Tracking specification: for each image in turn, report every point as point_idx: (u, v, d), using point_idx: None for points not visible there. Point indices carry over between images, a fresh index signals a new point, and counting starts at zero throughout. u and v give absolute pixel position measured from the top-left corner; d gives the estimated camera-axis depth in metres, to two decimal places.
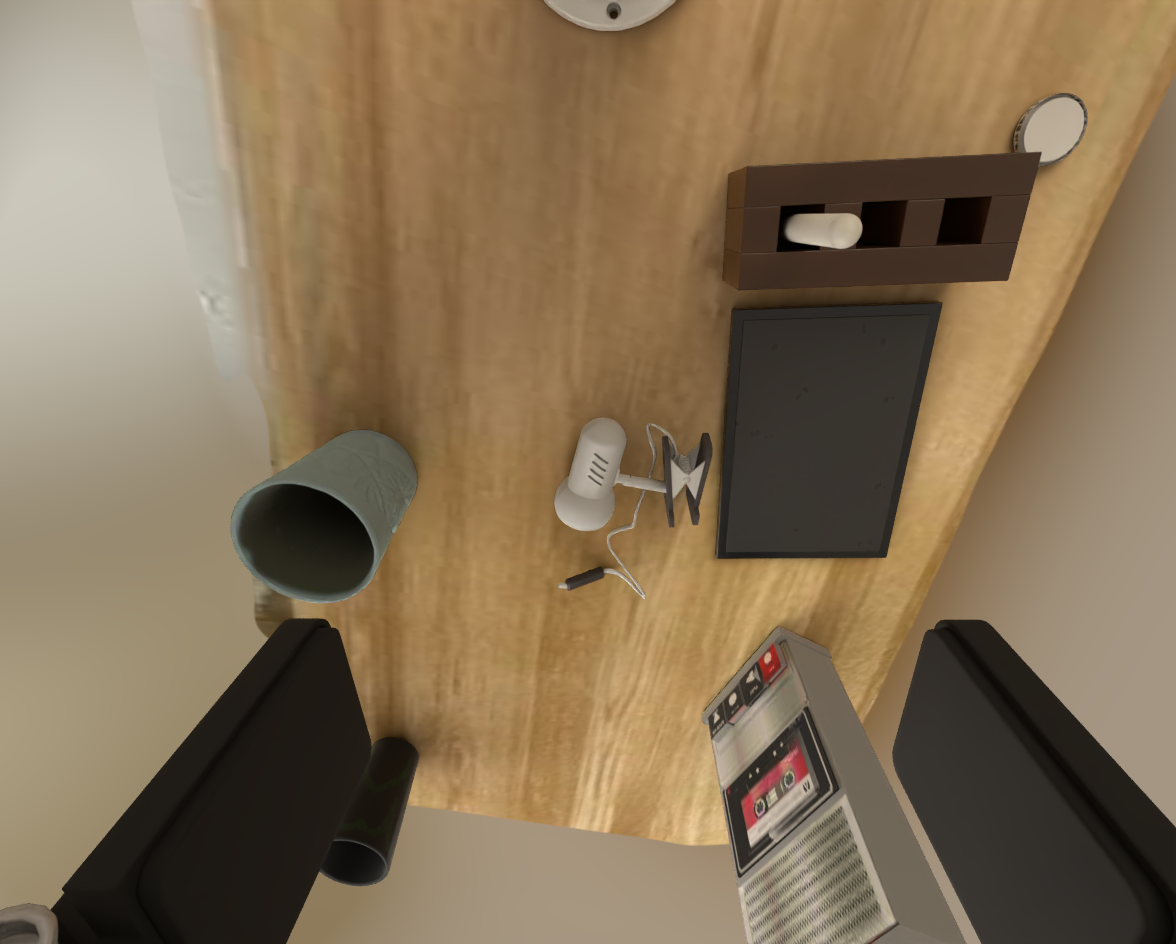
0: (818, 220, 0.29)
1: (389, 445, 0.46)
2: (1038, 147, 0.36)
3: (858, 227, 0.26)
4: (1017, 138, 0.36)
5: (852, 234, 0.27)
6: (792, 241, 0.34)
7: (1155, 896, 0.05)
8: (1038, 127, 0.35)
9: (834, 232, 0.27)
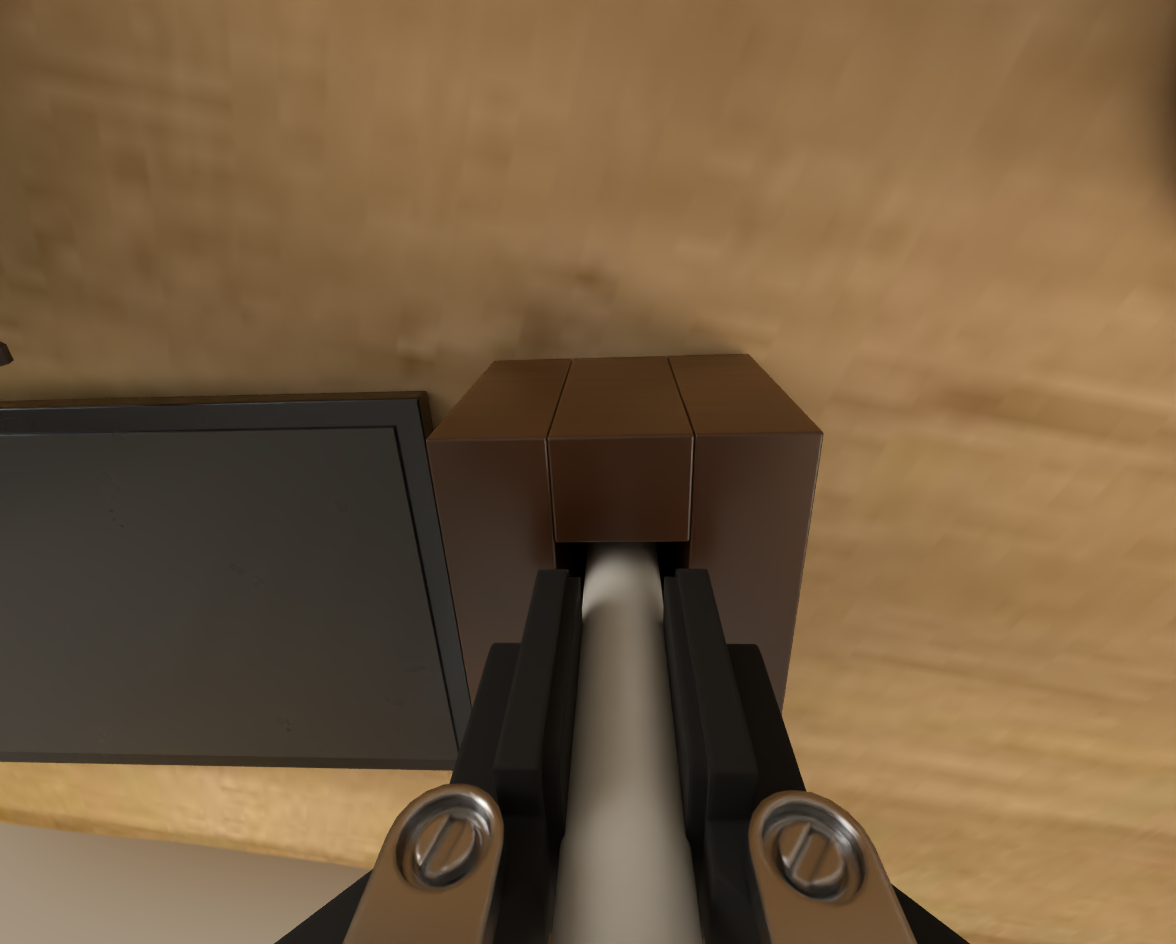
0: (668, 834, 0.06)
1: None
2: None
3: None
4: None
5: None
6: (586, 577, 0.11)
7: (712, 760, 0.06)
8: None
9: None
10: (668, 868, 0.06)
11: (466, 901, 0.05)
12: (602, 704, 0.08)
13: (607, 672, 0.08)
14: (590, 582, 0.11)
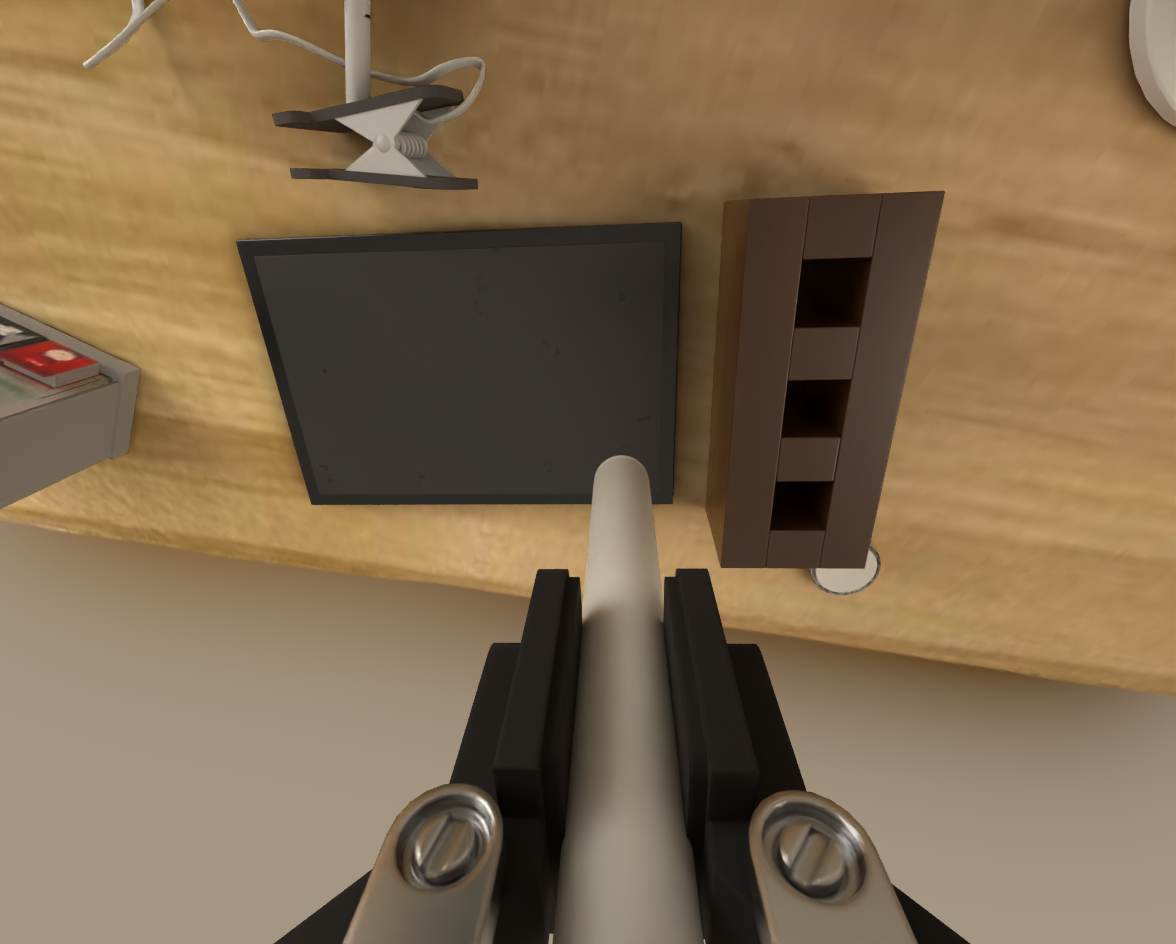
0: (669, 823, 0.06)
1: None
2: None
3: None
4: None
5: None
6: (587, 573, 0.11)
7: (712, 760, 0.06)
8: None
9: None
10: (669, 855, 0.06)
11: (466, 901, 0.05)
12: (603, 697, 0.08)
13: (608, 666, 0.09)
14: (591, 578, 0.11)
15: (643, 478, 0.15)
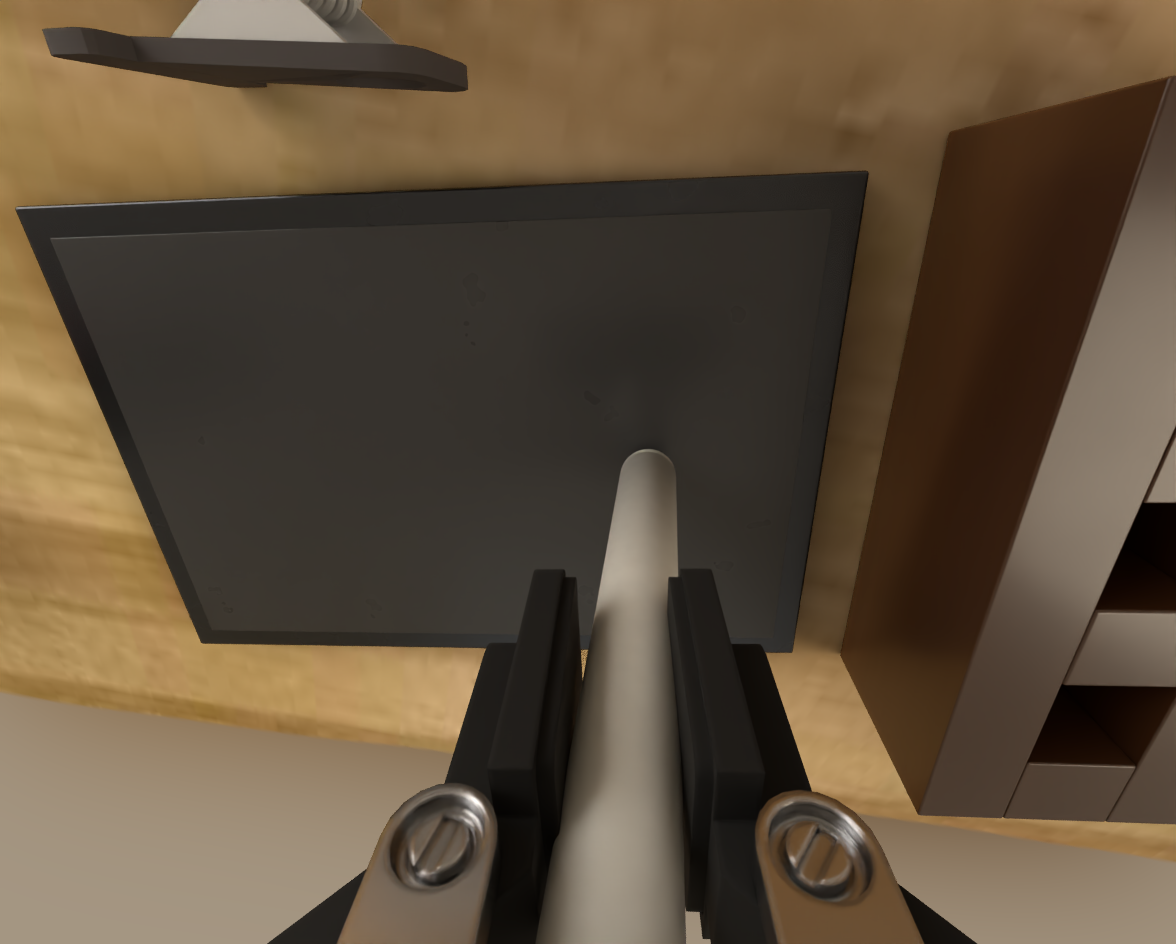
0: (659, 824, 0.06)
1: None
2: None
3: None
4: None
5: None
6: (604, 567, 0.11)
7: (719, 759, 0.06)
8: None
9: None
10: (656, 856, 0.06)
11: (461, 900, 0.05)
12: (607, 693, 0.08)
13: (614, 662, 0.09)
14: (607, 573, 0.11)
15: (669, 473, 0.15)
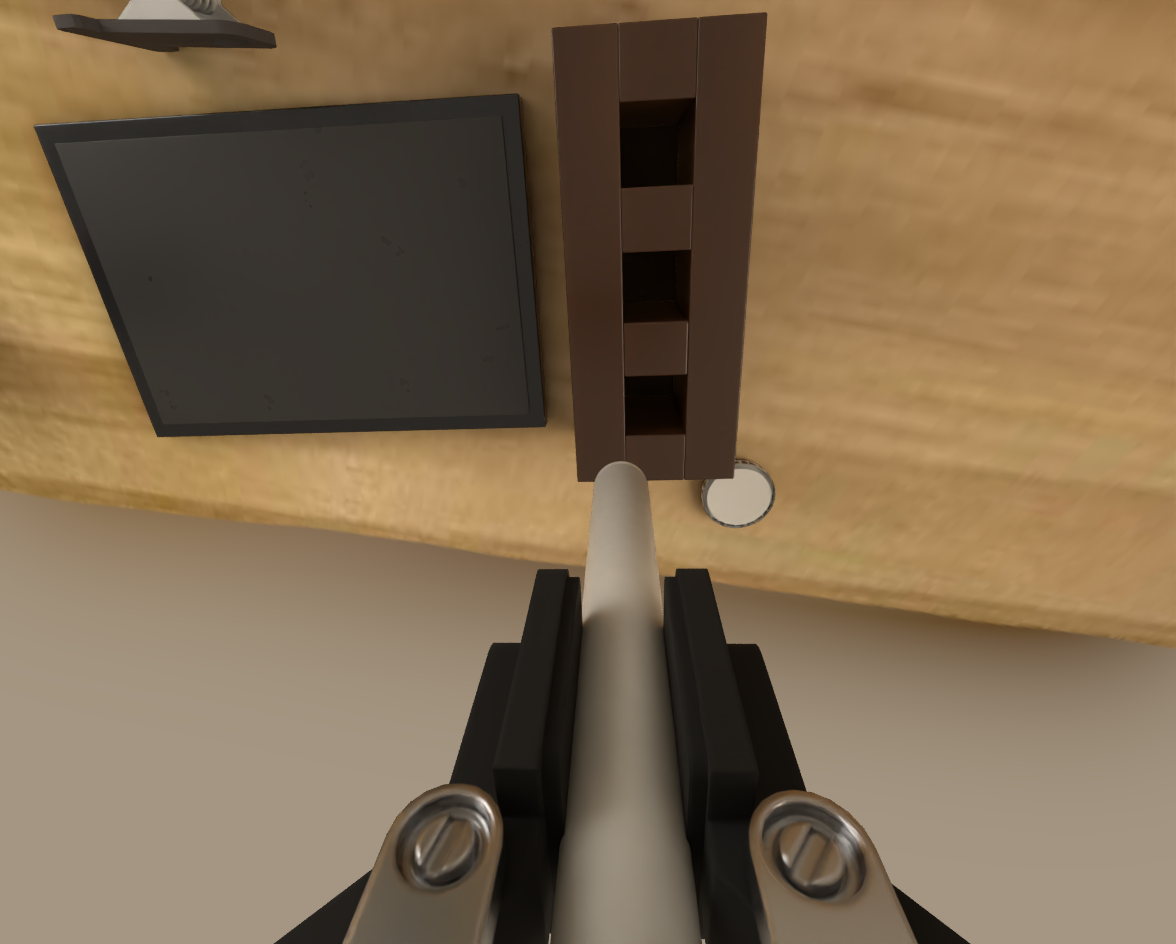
0: (666, 811, 0.07)
1: None
2: (722, 487, 0.31)
3: None
4: None
5: None
6: (586, 575, 0.12)
7: (712, 759, 0.06)
8: (743, 481, 0.30)
9: None
10: (665, 842, 0.06)
11: (466, 901, 0.05)
12: (602, 691, 0.08)
13: (607, 662, 0.09)
14: (590, 579, 0.11)
15: (642, 483, 0.15)
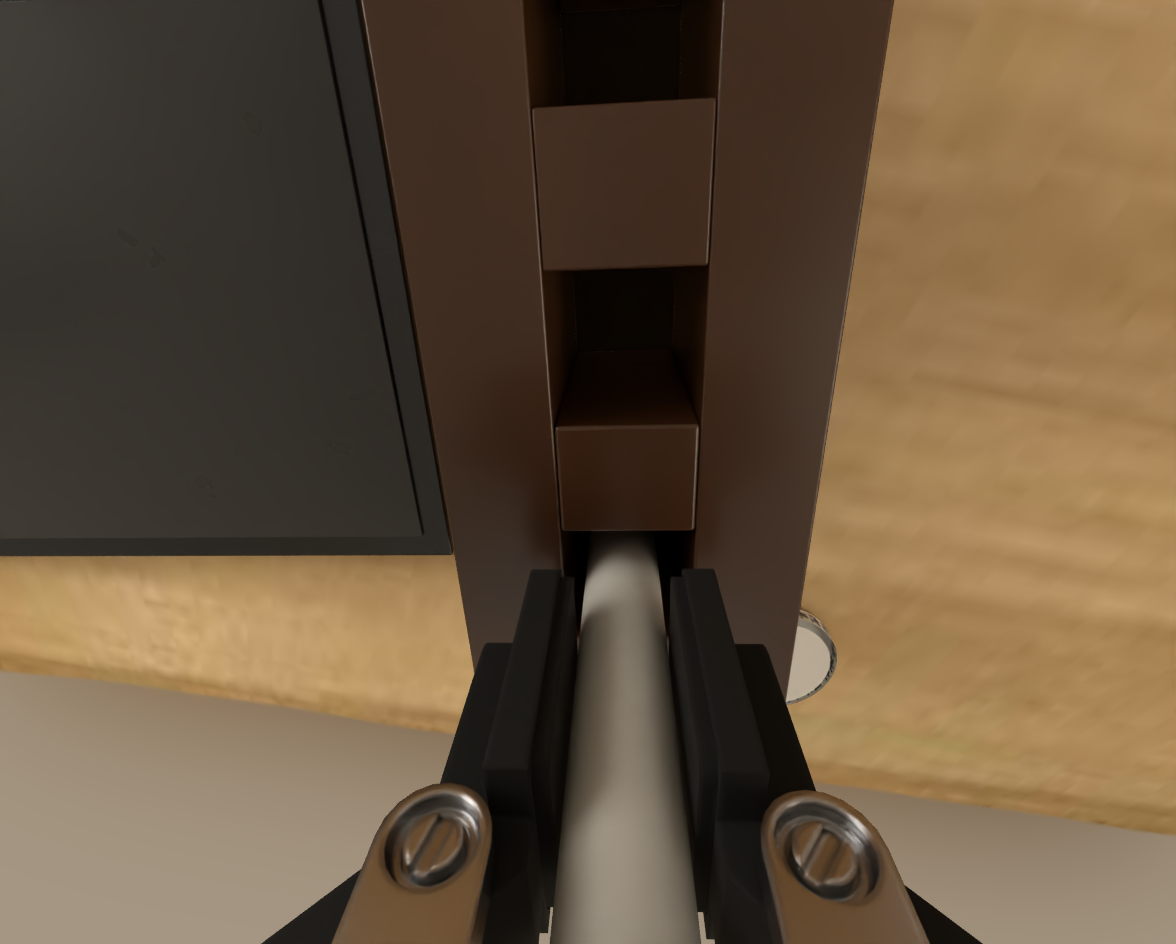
0: (666, 816, 0.06)
1: None
2: None
3: None
4: None
5: None
6: (587, 576, 0.12)
7: (723, 759, 0.06)
8: None
9: None
10: (665, 848, 0.06)
11: (456, 898, 0.05)
12: (602, 695, 0.08)
13: (607, 665, 0.09)
14: (591, 581, 0.11)
15: None
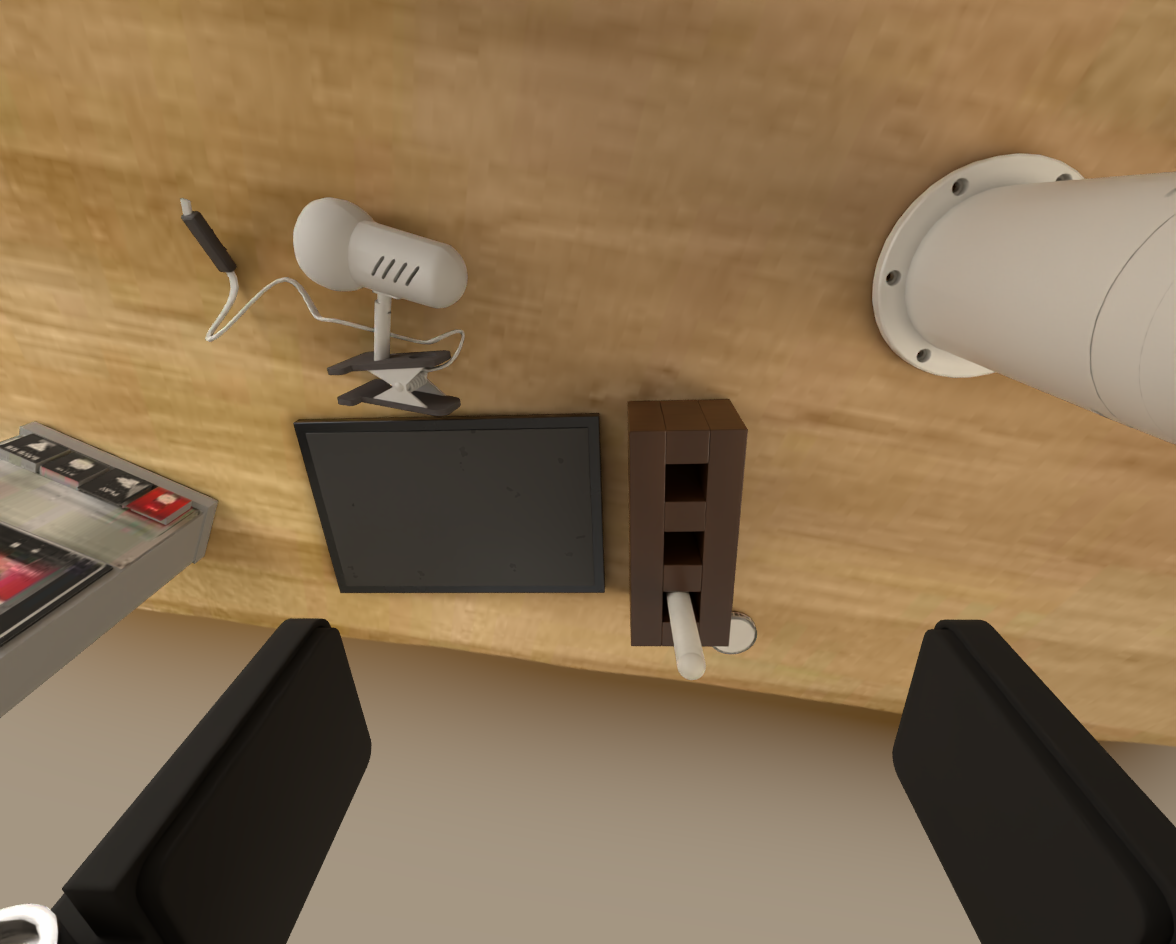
0: (695, 634, 0.33)
1: None
2: None
3: (695, 678, 0.31)
4: None
5: (690, 675, 0.30)
6: (667, 594, 0.38)
7: (1155, 896, 0.05)
8: (735, 626, 0.45)
9: (692, 660, 0.31)
10: (695, 637, 0.33)
11: None
12: (679, 617, 0.35)
13: (679, 612, 0.35)
14: (670, 595, 0.38)
15: None
